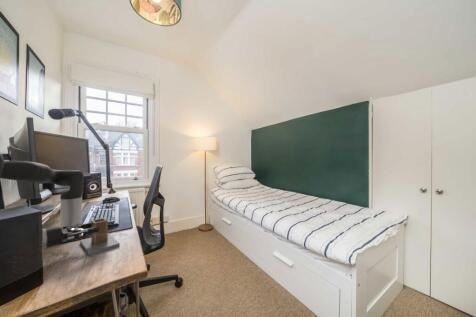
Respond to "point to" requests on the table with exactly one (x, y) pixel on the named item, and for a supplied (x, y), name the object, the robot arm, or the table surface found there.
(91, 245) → the plate
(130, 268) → the table surface
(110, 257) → the table surface
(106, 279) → the table surface
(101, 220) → the sleeve
